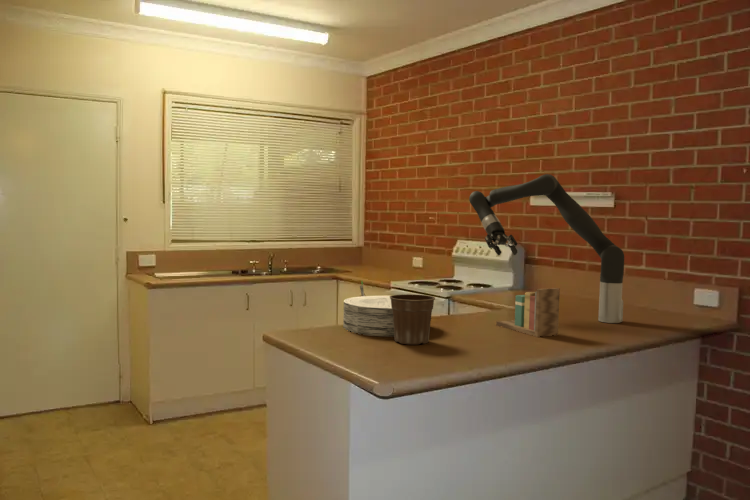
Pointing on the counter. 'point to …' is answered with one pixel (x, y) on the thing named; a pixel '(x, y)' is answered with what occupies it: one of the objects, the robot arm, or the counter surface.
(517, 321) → the teal book
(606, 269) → the robot arm
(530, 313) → the book rack
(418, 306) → the plant pot
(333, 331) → the counter surface
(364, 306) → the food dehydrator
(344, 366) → the counter surface
